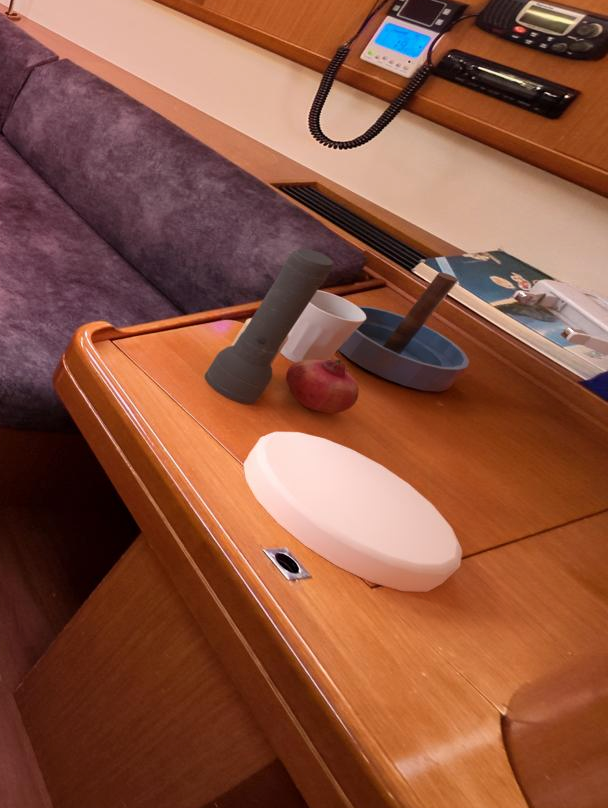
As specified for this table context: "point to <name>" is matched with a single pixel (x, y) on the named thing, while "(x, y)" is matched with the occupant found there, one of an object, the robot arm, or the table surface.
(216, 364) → the flashlight
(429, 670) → the table surface
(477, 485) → the table surface
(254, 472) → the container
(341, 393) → the fruit
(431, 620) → the table surface
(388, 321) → the bowl
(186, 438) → the table surface
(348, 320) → the cup
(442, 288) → the stick
